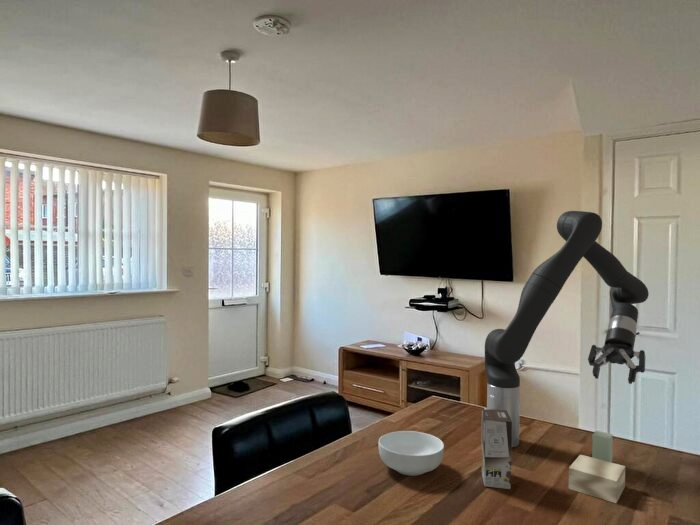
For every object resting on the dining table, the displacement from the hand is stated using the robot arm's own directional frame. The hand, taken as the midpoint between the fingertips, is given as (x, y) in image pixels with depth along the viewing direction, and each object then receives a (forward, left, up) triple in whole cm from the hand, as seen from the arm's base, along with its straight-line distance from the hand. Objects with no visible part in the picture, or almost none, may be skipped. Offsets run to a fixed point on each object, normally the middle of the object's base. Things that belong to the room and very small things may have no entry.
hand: (612, 379), depth 132 cm
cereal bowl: (-37, -47, -21) cm, 64 cm away
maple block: (+2, -26, -20) cm, 33 cm away
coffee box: (-18, -38, -21) cm, 47 cm away
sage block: (0, -11, -20) cm, 23 cm away
